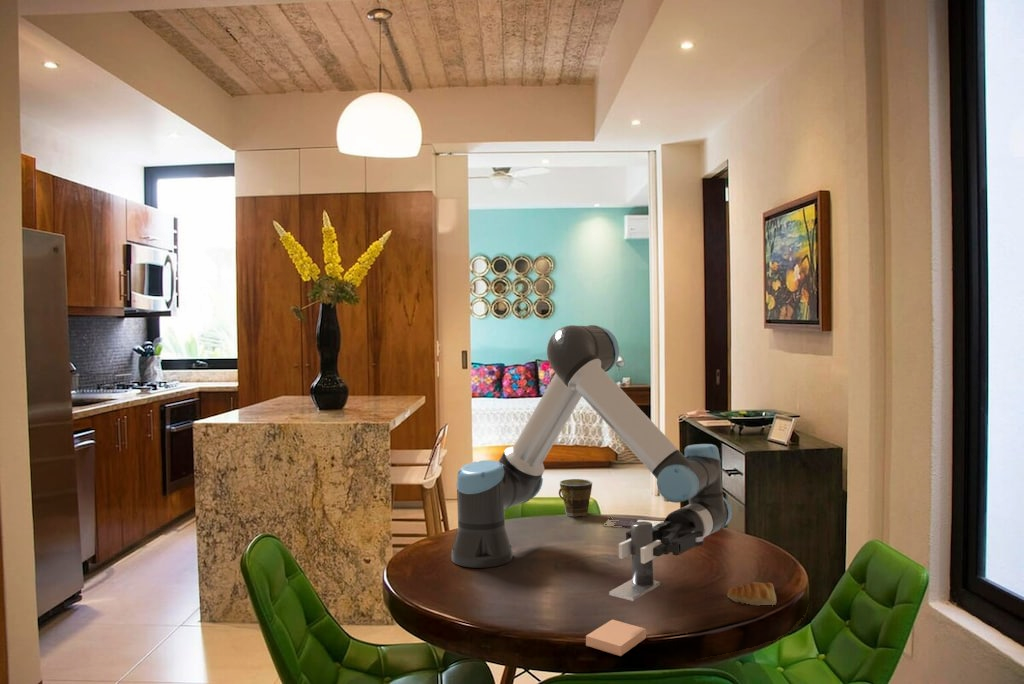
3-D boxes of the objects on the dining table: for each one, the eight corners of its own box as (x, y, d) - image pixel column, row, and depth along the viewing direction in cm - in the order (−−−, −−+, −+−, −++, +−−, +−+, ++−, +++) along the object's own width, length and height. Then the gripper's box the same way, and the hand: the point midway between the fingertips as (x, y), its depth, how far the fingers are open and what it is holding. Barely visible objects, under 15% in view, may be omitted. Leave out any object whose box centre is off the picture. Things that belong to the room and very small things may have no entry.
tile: (612, 630, 131) (586, 647, 124) (612, 619, 131) (585, 635, 124) (645, 640, 126) (620, 658, 119) (645, 628, 126) (620, 646, 119)
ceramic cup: (574, 509, 222) (573, 477, 222) (599, 514, 215) (598, 481, 215) (547, 517, 213) (546, 484, 213) (572, 522, 206) (572, 488, 206)
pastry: (730, 606, 141) (729, 587, 141) (725, 594, 147) (724, 576, 147) (779, 608, 139) (778, 588, 139) (771, 596, 146) (771, 577, 146)
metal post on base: (609, 594, 129) (607, 532, 128) (636, 579, 136) (635, 520, 136) (633, 601, 125) (631, 536, 125) (659, 584, 133) (658, 524, 133)
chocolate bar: (608, 517, 210) (669, 520, 204) (608, 520, 210) (669, 523, 204) (603, 524, 201) (666, 528, 196) (603, 528, 201) (666, 531, 196)
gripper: (726, 550, 142) (673, 583, 124) (652, 536, 153) (593, 565, 135) (726, 513, 142) (672, 541, 124) (651, 502, 153) (592, 526, 135)
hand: (631, 553), depth 130 cm, fingers closed on metal post on base, 4 cm apart
